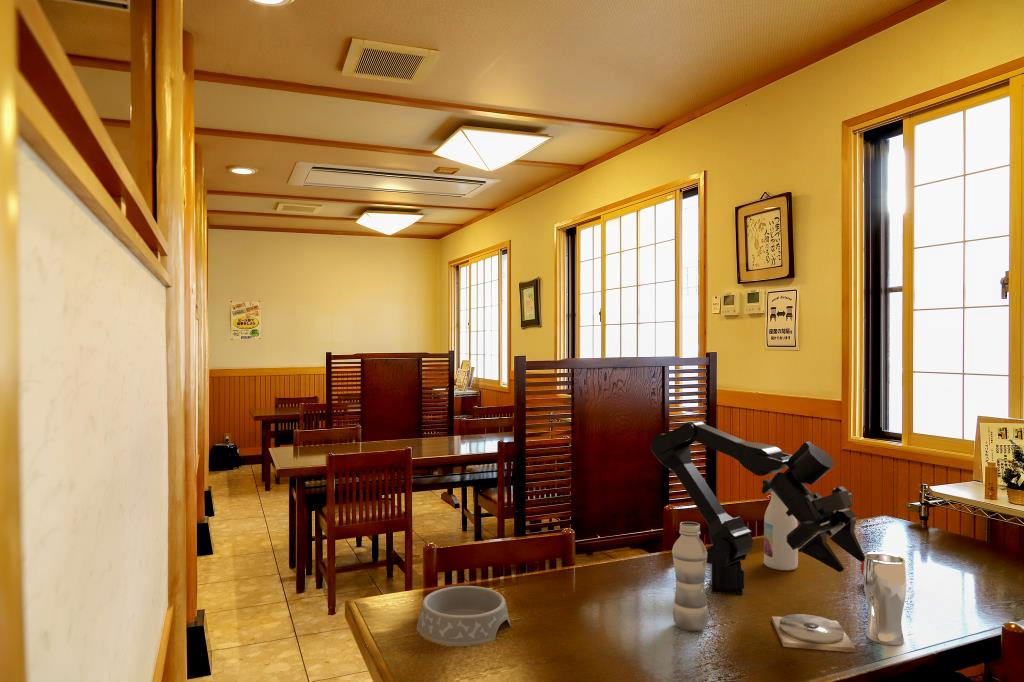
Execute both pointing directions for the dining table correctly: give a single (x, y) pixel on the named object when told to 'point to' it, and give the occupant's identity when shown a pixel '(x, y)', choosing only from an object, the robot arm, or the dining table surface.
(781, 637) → the base plate
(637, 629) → the dining table surface
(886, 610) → the beer glass
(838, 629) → the flange
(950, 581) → the dining table surface
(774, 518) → the milk bottle
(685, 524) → the plastic bottle
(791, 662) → the dining table surface
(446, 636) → the dog bowl
